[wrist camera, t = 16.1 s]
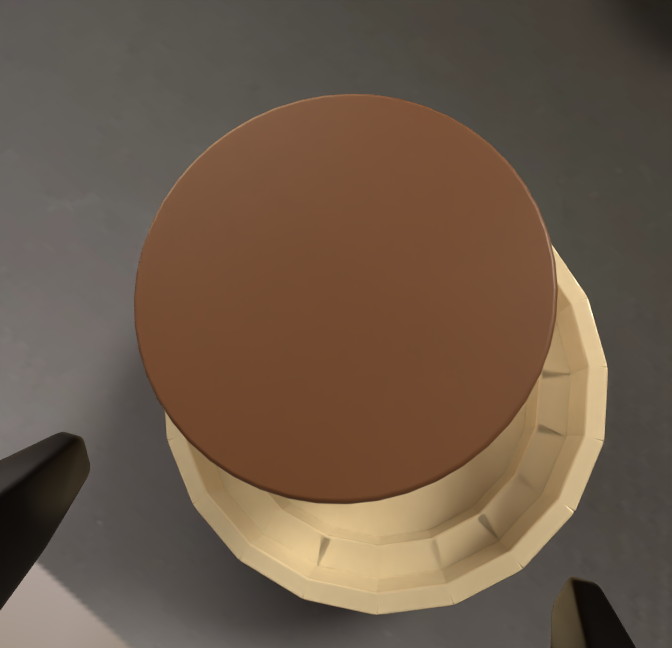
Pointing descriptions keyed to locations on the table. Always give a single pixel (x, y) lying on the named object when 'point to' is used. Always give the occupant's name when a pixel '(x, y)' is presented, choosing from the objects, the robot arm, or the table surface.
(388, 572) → the bowl
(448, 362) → the canister
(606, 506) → the table surface
